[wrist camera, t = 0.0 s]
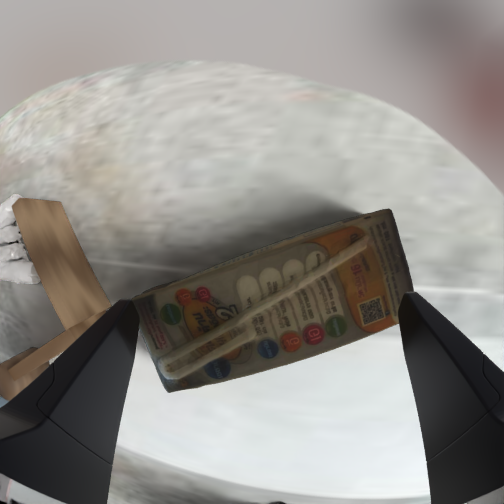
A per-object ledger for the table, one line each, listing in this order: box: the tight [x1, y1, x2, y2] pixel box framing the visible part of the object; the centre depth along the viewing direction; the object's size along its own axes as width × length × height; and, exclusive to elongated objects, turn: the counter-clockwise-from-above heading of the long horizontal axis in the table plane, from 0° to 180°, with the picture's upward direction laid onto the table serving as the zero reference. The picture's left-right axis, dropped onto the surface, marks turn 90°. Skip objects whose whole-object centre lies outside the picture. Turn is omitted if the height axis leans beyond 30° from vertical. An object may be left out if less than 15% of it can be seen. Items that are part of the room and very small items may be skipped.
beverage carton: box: [131, 209, 414, 393], centre depth 22 cm, size 8×19×6 cm, turn 109°
